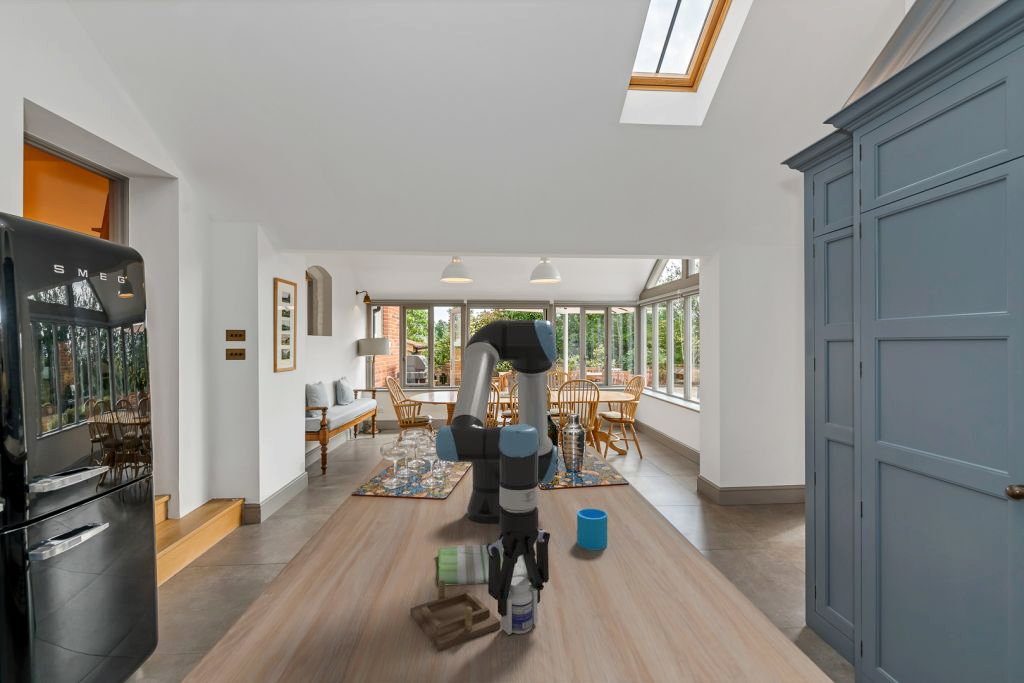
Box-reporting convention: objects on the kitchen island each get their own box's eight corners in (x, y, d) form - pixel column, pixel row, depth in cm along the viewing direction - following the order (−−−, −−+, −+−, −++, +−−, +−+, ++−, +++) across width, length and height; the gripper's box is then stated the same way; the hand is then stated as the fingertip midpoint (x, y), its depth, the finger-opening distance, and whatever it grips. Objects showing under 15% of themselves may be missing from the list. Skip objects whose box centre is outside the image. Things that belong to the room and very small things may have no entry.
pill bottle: (504, 619, 97) (504, 575, 97) (530, 617, 98) (530, 573, 98) (506, 635, 92) (506, 588, 92) (534, 634, 93) (534, 587, 92)
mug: (611, 548, 130) (611, 518, 130) (582, 551, 129) (582, 520, 129) (596, 531, 142) (596, 503, 142) (569, 533, 140) (569, 504, 140)
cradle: (410, 613, 99) (410, 588, 99) (467, 595, 107) (466, 571, 106) (439, 650, 88) (438, 622, 88) (500, 627, 95) (500, 600, 95)
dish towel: (537, 581, 114) (537, 566, 113) (437, 589, 110) (437, 573, 110) (525, 549, 131) (524, 536, 130) (438, 555, 127) (438, 542, 127)
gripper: (487, 522, 86) (488, 652, 87) (568, 502, 96) (568, 619, 97) (468, 509, 93) (468, 631, 93) (545, 492, 103) (545, 602, 103)
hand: (519, 624), depth 95 cm, fingers closed on pill bottle, 5 cm apart
